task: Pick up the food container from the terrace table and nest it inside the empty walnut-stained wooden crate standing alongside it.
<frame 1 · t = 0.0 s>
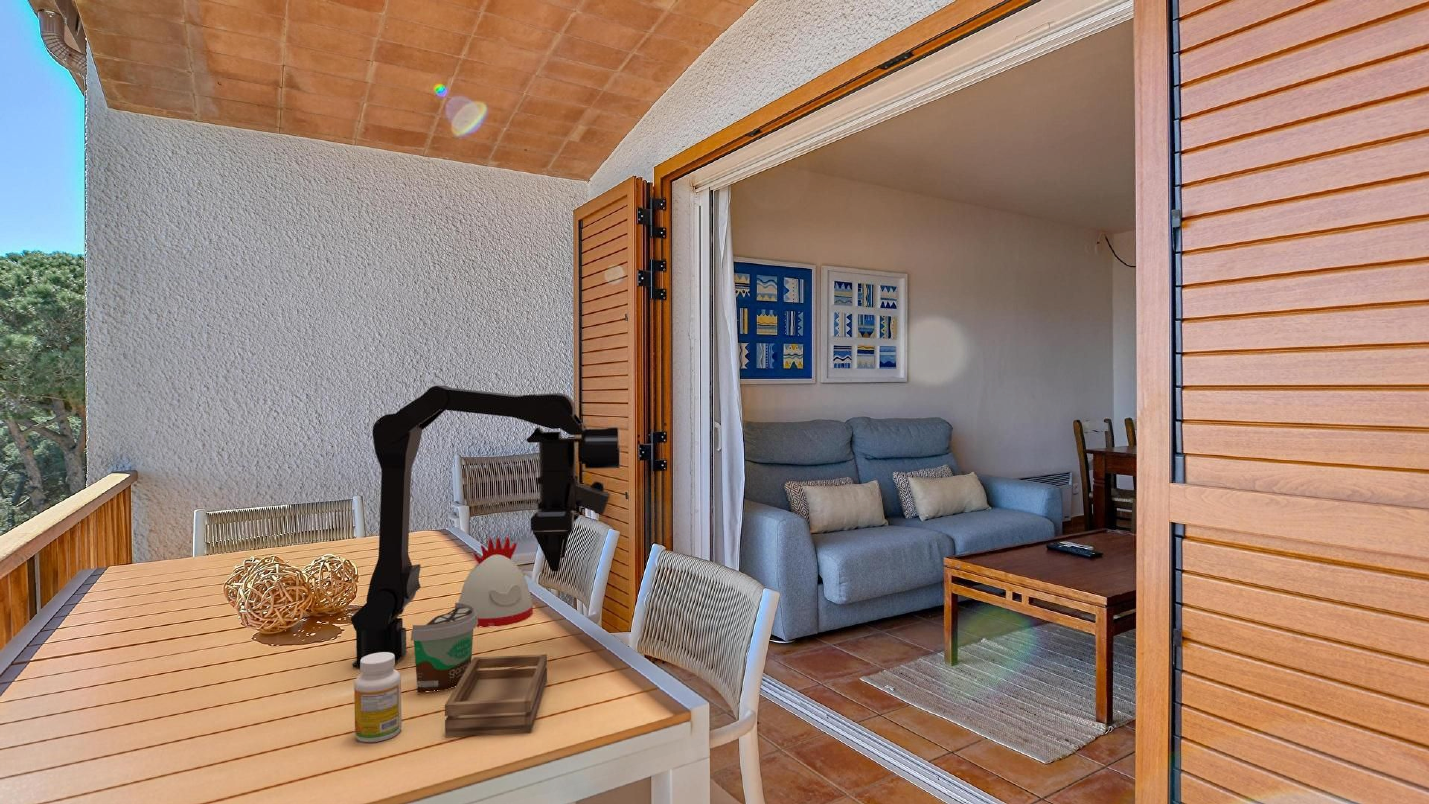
hand: (558, 564, 122), 15 cm above the table, tool pointing down, fingers open, 9 cm apart
food container: (454, 682, 111), on the table
supplement bottle: (378, 735, 94), on the table
kitchen timer: (495, 617, 143), on the table
crate: (500, 706, 102), on the table
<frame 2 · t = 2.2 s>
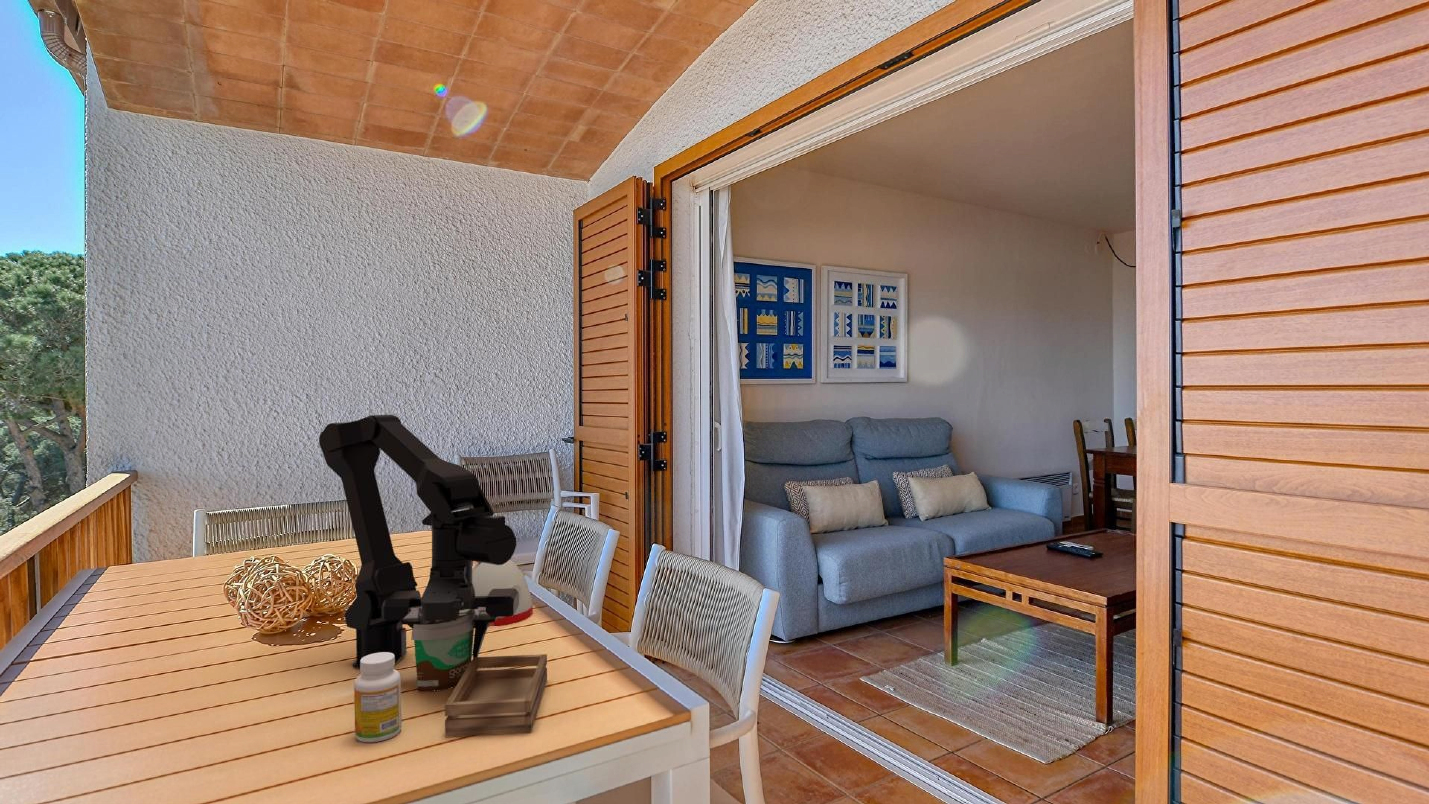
hand: (452, 660, 111), 3 cm above the table, tool pointing down, fingers closed on food container, 6 cm apart
food container: (454, 681, 111), on the table, touching gripper
everything else where it was.
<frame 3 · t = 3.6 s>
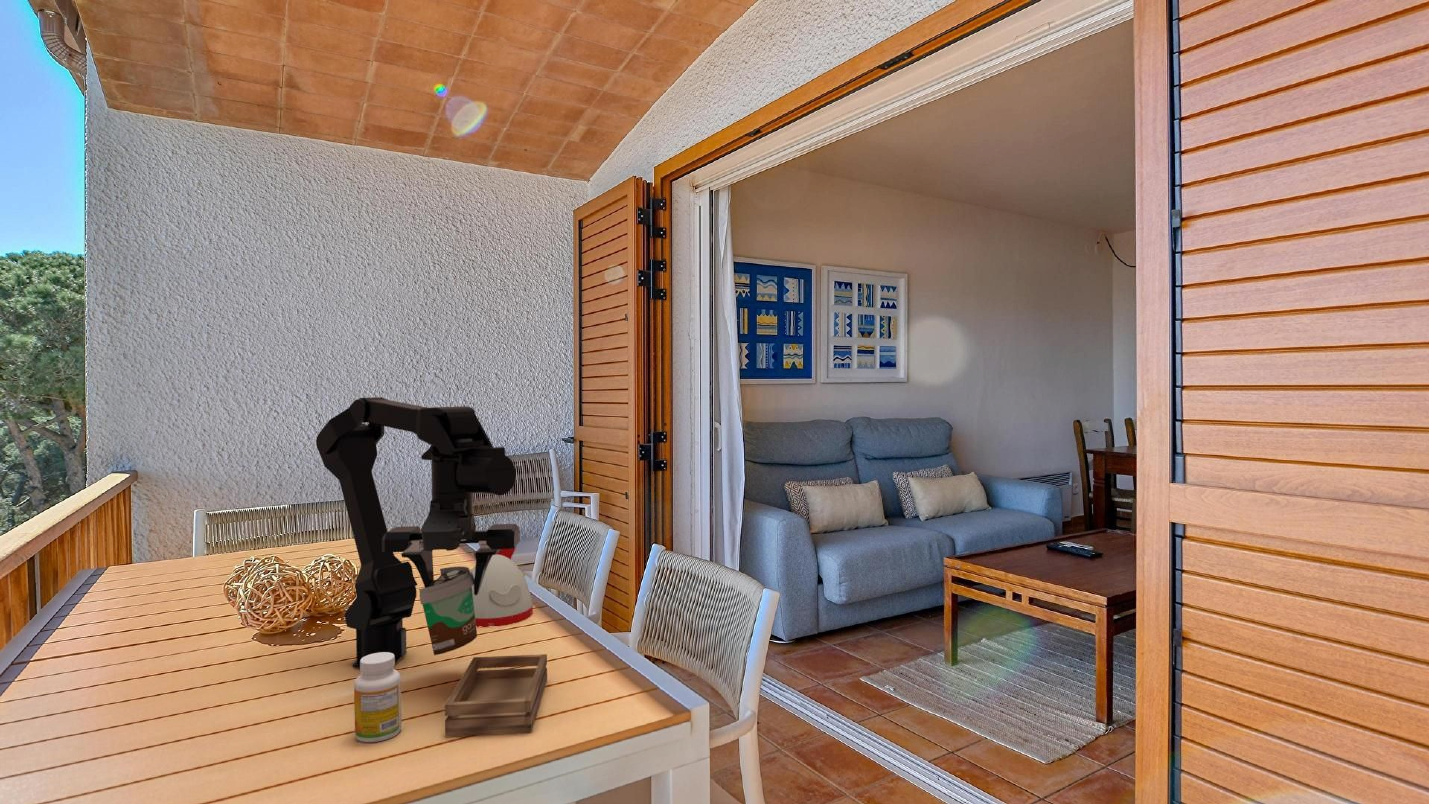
hand: (453, 595, 111), 13 cm above the table, tool pointing down, fingers closed on food container, 6 cm apart
food container: (463, 640, 111), point 6 cm above the table, touching gripper
everything else where it was.
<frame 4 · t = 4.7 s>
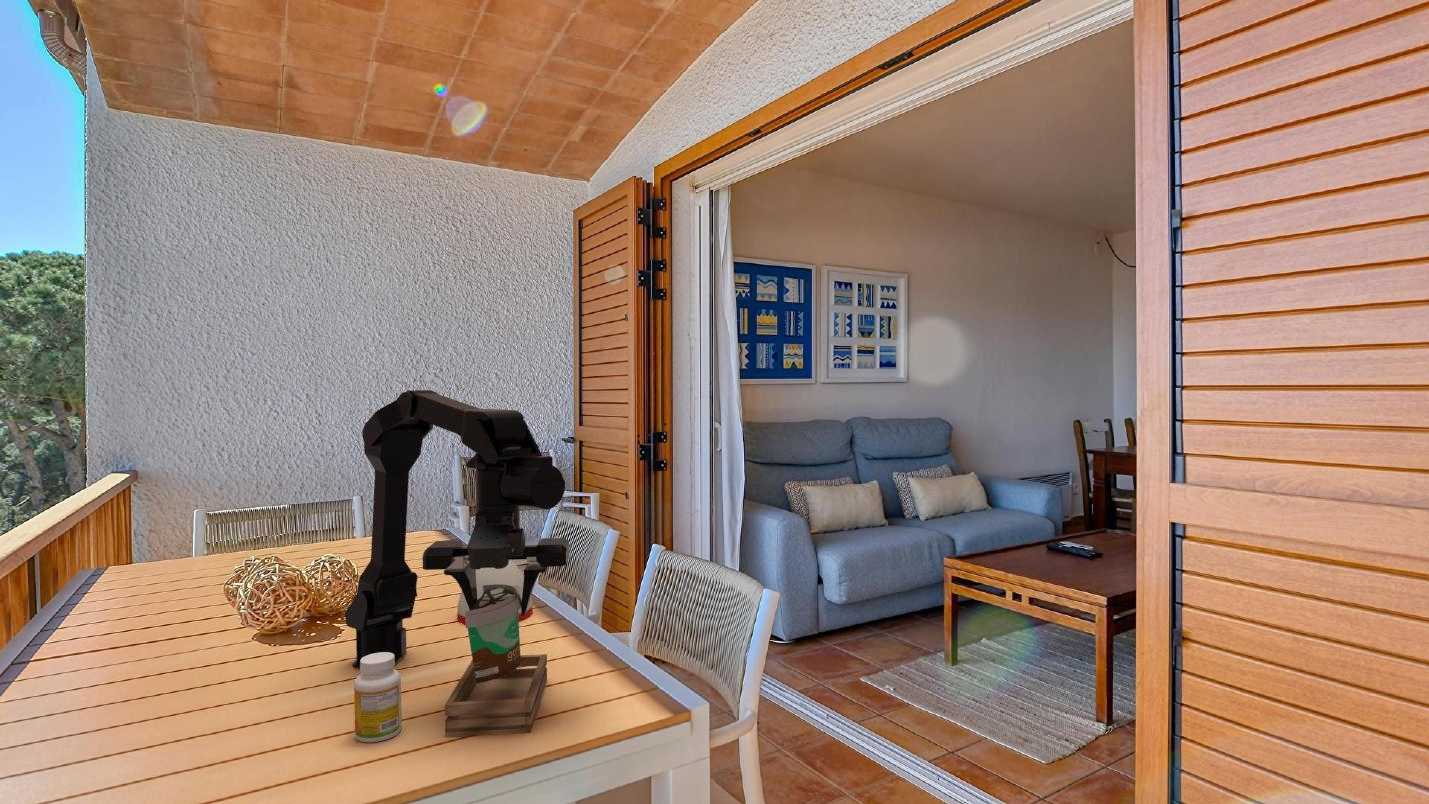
hand: (499, 615, 102), 12 cm above the table, tool pointing down, fingers closed on food container, 6 cm apart
food container: (506, 666, 102), point 5 cm above the table, touching gripper
everything else where it was.
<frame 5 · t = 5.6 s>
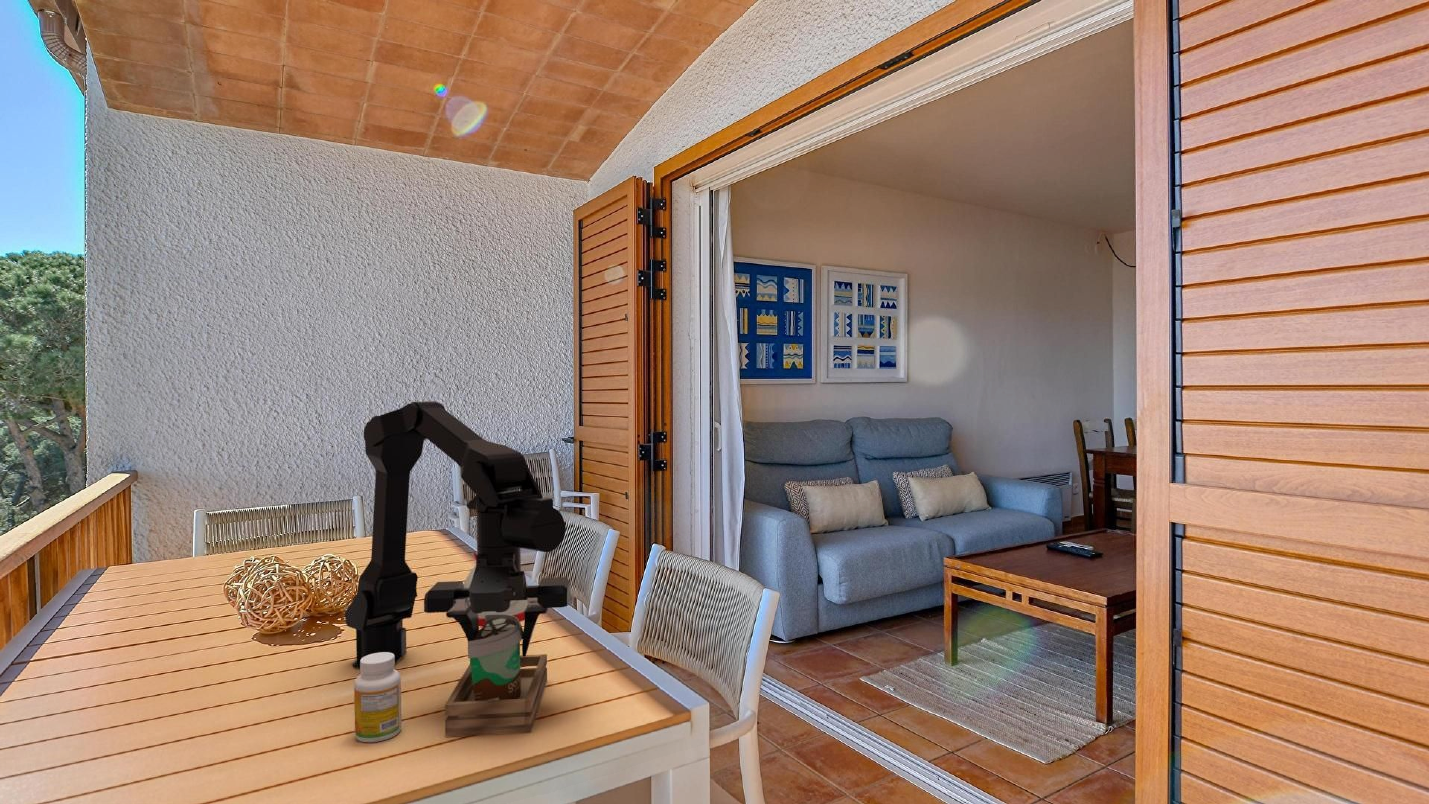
hand: (500, 656, 102), 7 cm above the table, tool pointing down, fingers closed on food container, 6 cm apart
food container: (506, 698, 102), point 1 cm above the table, touching crate, gripper
everything else where it was.
when the fingers open (5 cm above the table, at t = 6.4 s): food container stays where it is, resting on crate.
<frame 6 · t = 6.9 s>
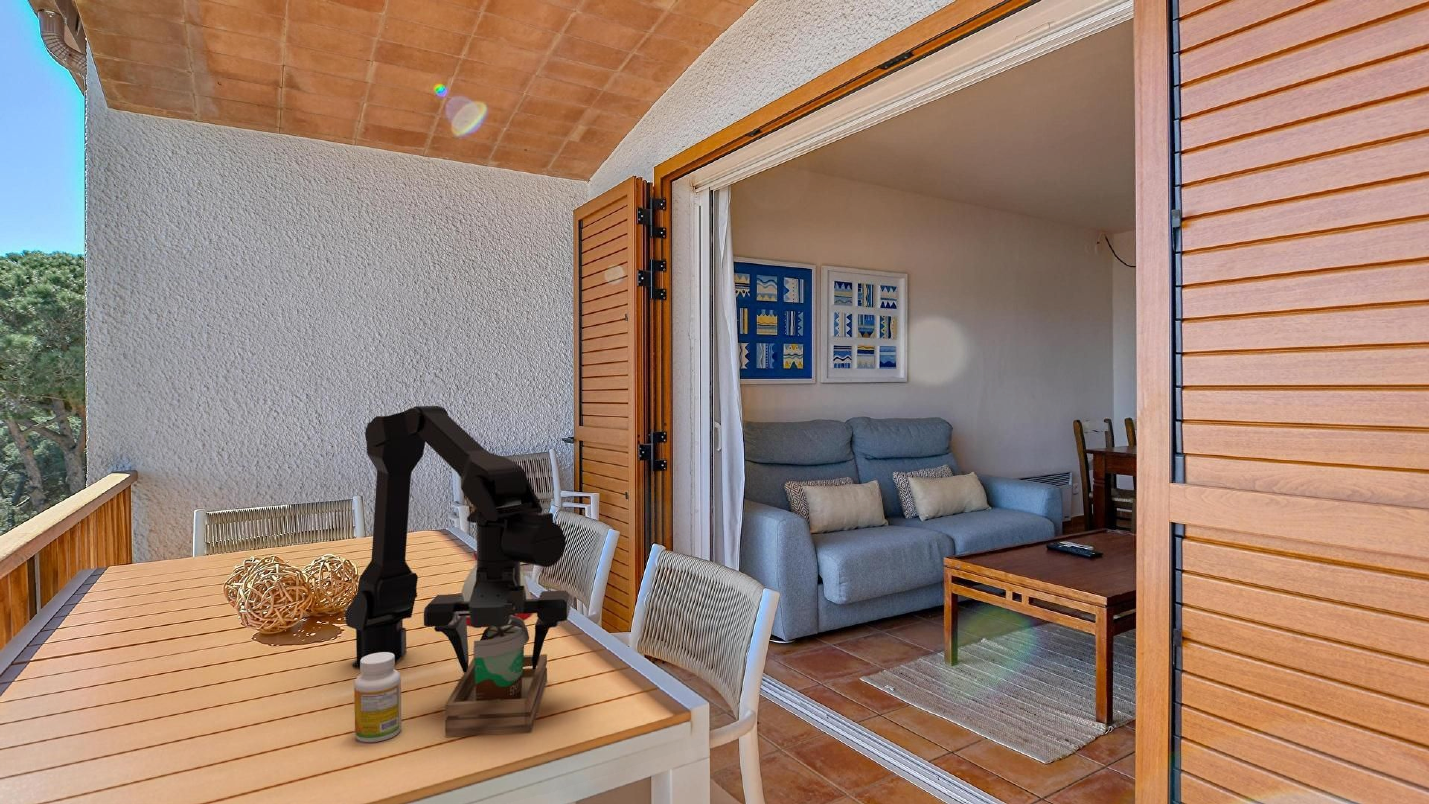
hand: (500, 670, 102), 5 cm above the table, tool pointing down, fingers open, 9 cm apart
food container: (506, 699, 102), point 1 cm above the table, touching crate
everything else where it was.
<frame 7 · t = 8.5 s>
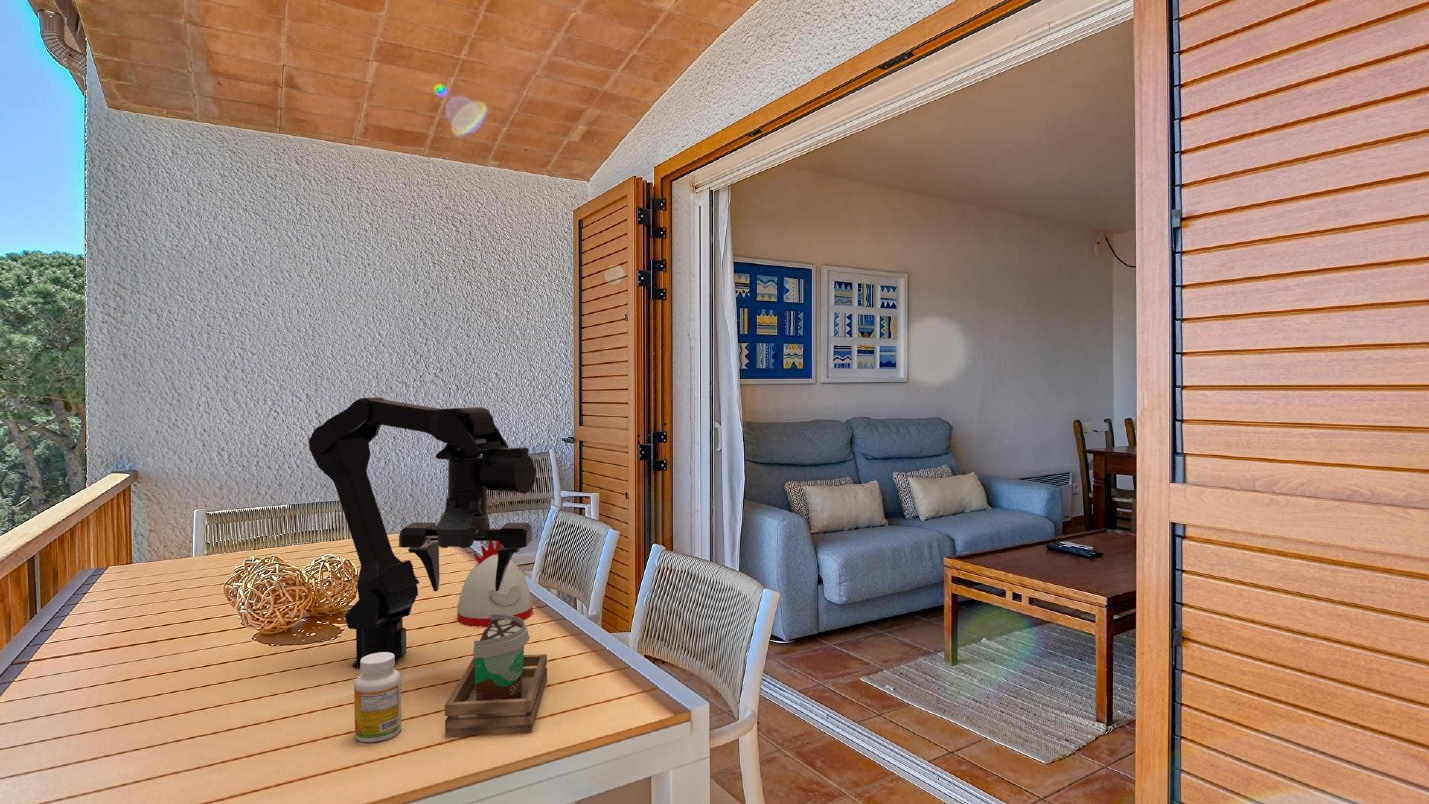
hand: (466, 590, 114), 13 cm above the table, tool pointing down, fingers open, 9 cm apart
nothing on the table moved.
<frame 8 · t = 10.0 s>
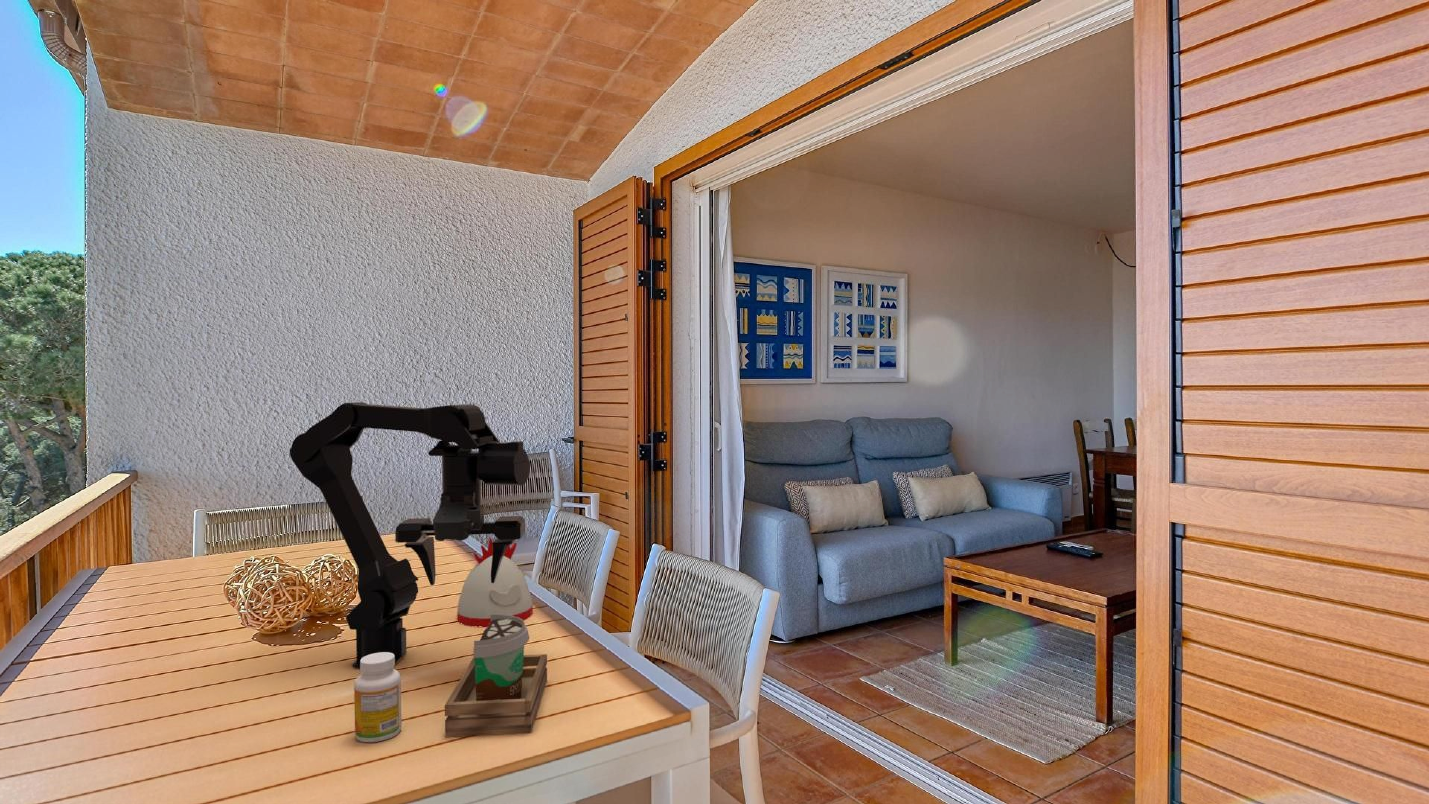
hand: (463, 583, 117), 13 cm above the table, tool pointing down, fingers open, 9 cm apart
nothing on the table moved.
at the end: food container 0.8 cm off-centre on the crate, point 0.8 cm above the crate's base; food container tilted 0°; the gripper is holding nothing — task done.
